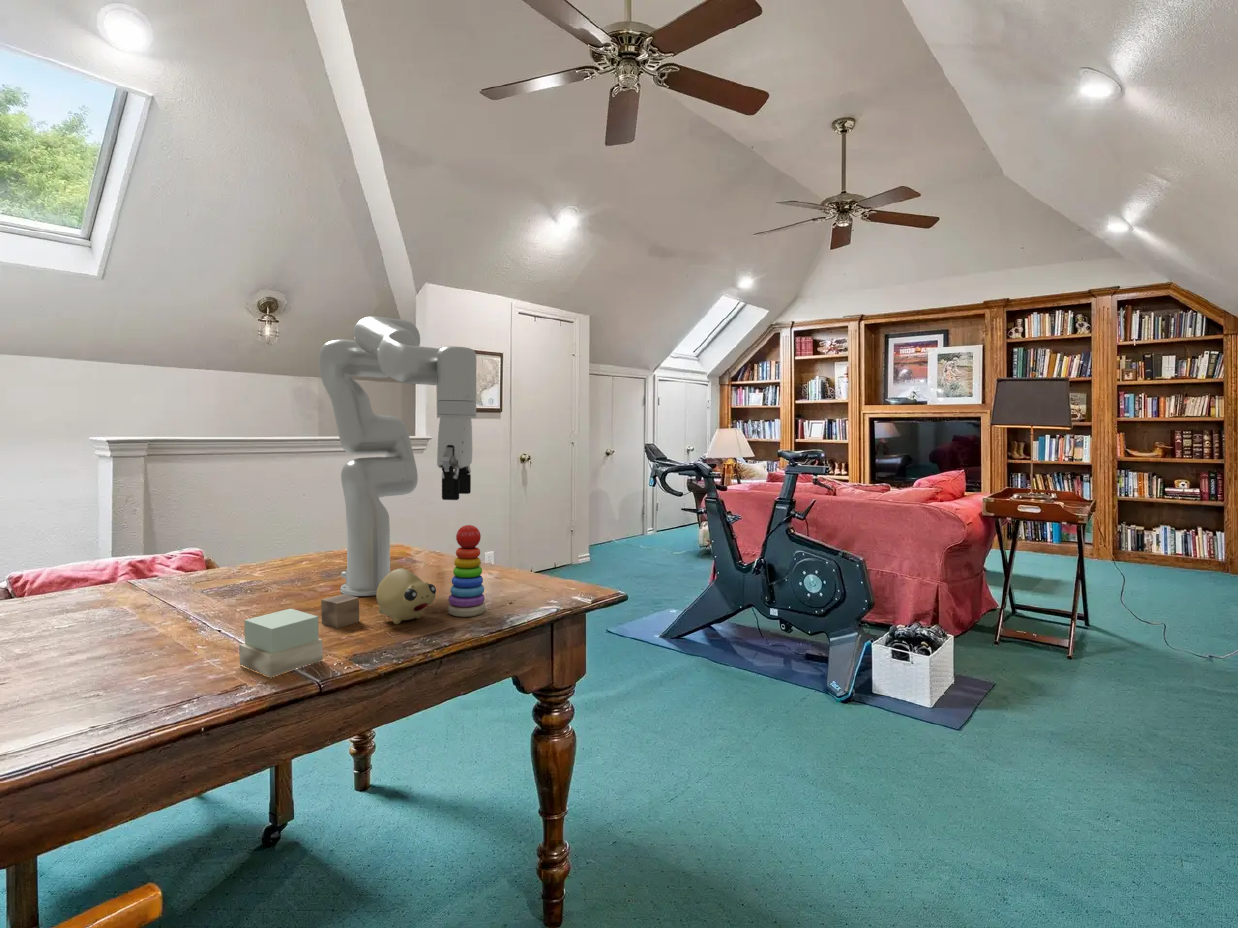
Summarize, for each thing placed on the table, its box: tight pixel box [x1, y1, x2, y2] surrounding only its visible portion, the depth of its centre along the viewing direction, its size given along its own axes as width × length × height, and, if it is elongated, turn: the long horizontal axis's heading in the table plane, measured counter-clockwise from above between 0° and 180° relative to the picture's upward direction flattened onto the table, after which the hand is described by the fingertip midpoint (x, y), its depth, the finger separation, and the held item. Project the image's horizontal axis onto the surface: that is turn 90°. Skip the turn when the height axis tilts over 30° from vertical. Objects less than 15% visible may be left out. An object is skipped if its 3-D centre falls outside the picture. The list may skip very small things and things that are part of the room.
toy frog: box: [375, 567, 437, 625], centre depth 132 cm, size 10×12×11 cm
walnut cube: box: [320, 593, 360, 629], centre depth 131 cm, size 5×5×5 cm
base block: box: [238, 638, 324, 677], centre depth 109 cm, size 9×9×4 cm
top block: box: [243, 608, 320, 654], centre depth 109 cm, size 8×8×4 cm
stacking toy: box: [447, 524, 487, 618], centre depth 138 cm, size 8×8×19 cm
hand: (456, 496), depth 130 cm, fingers open, 9 cm apart
